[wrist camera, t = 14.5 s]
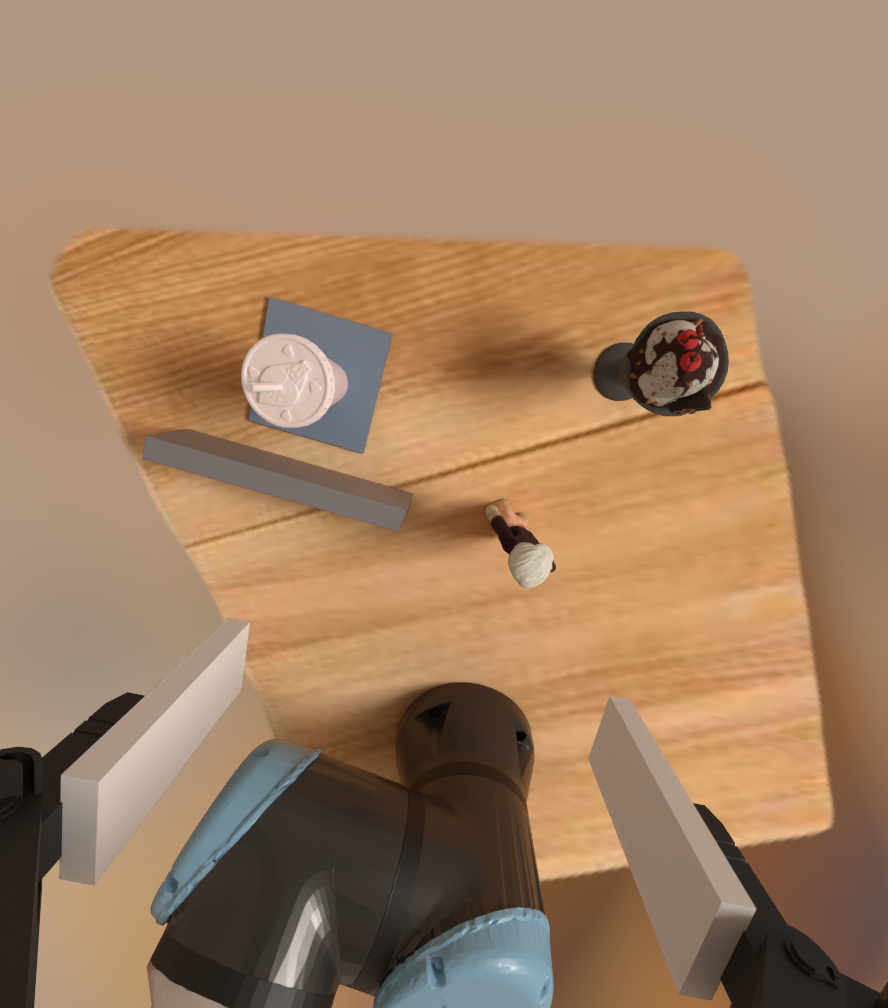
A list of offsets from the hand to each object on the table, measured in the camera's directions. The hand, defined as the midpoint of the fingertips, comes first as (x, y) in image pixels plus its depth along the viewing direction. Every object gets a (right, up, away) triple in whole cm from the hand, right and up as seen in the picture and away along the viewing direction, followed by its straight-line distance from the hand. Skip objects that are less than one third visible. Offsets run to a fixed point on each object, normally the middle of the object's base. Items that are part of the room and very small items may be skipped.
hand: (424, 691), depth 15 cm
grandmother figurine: (+7, +5, +27) cm, 28 cm away
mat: (-11, +18, +24) cm, 32 cm away
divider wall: (-13, +10, +26) cm, 31 cm away
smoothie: (-10, +18, +24) cm, 31 cm away
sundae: (+17, +18, +23) cm, 34 cm away
